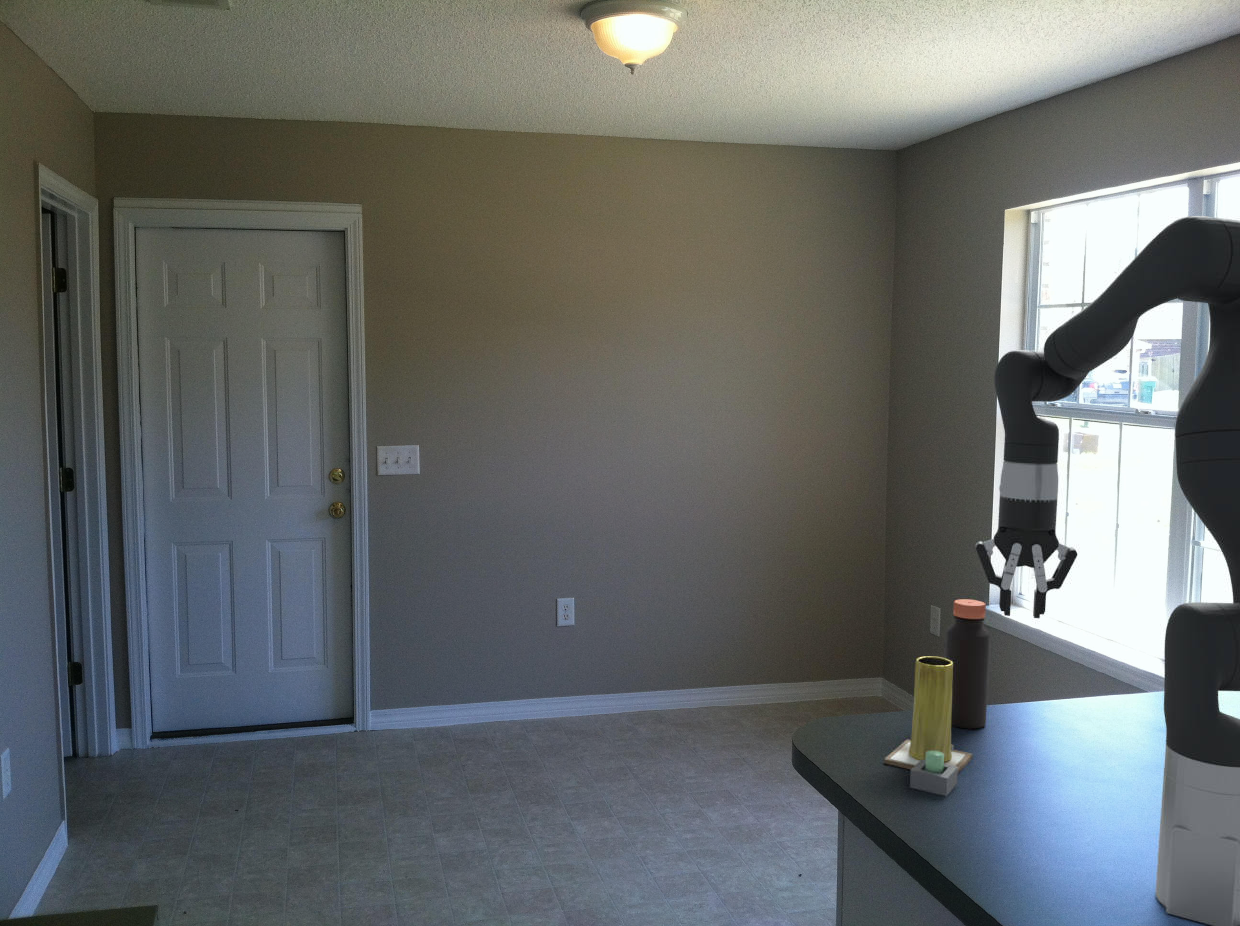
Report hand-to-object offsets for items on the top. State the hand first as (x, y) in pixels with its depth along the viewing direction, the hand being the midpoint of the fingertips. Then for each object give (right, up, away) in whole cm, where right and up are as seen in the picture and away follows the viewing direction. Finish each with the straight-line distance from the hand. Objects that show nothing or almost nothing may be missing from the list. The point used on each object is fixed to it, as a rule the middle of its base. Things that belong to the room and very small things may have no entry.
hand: (1021, 615), depth 147 cm
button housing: (-13, -23, -2) cm, 27 cm away
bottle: (0, -21, +24) cm, 32 cm away
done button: (-13, -22, -3) cm, 26 cm away
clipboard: (-11, -22, +7) cm, 26 cm away
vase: (-11, -22, +7) cm, 25 cm away
